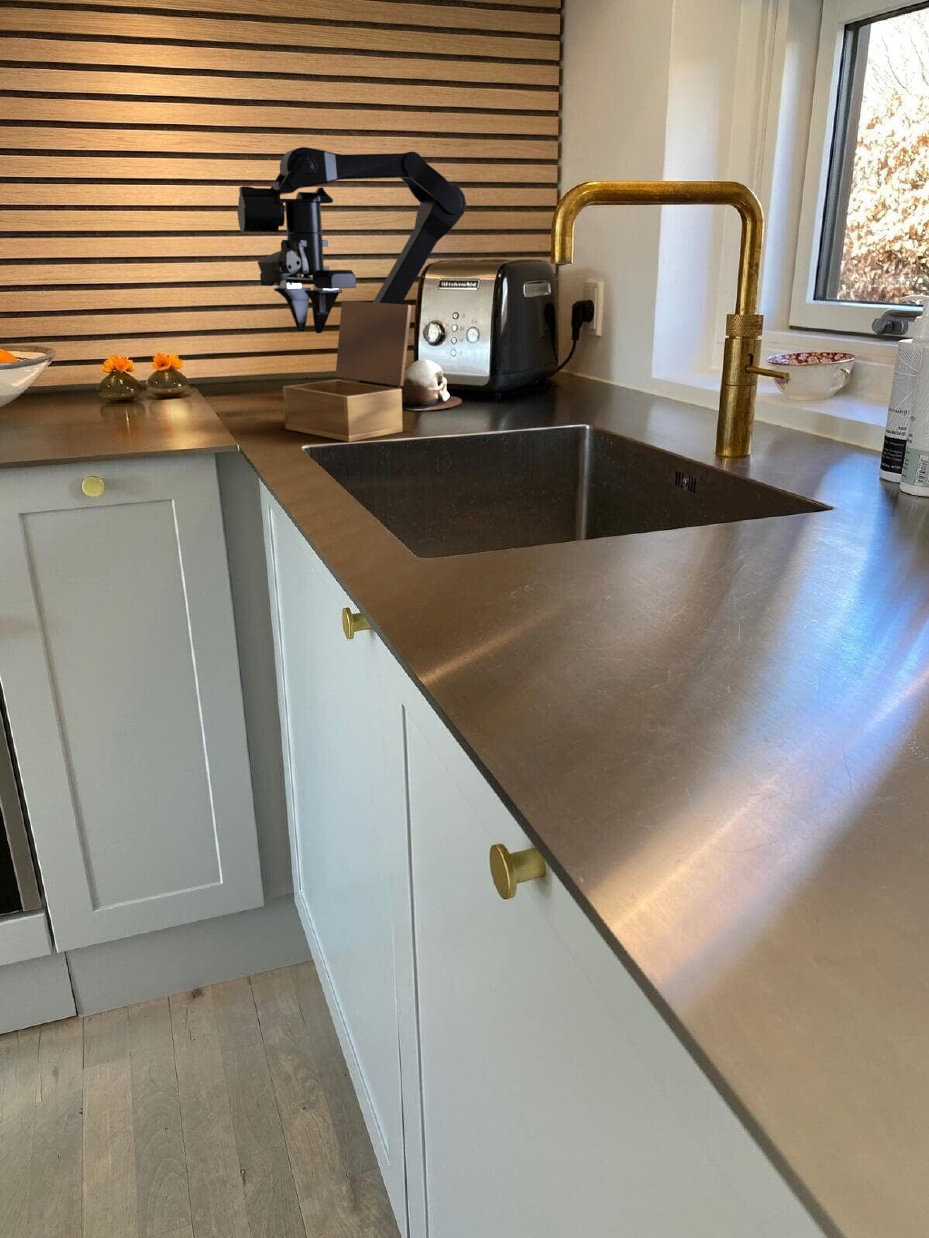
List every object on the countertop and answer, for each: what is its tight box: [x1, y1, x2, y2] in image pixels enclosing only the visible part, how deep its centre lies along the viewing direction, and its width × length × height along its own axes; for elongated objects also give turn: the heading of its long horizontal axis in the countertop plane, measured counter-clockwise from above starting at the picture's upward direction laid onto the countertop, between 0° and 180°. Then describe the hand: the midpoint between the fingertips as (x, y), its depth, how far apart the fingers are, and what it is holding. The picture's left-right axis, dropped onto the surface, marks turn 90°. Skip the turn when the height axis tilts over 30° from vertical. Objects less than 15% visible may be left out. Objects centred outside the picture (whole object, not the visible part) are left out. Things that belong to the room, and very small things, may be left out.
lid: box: [335, 300, 412, 387], centre depth 141 cm, size 11×15×1 cm
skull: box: [400, 359, 463, 411], centre depth 162 cm, size 12×10×10 cm
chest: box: [282, 379, 404, 443], centre depth 140 cm, size 11×15×6 cm
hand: (310, 332), depth 160 cm, fingers open, 4 cm apart
